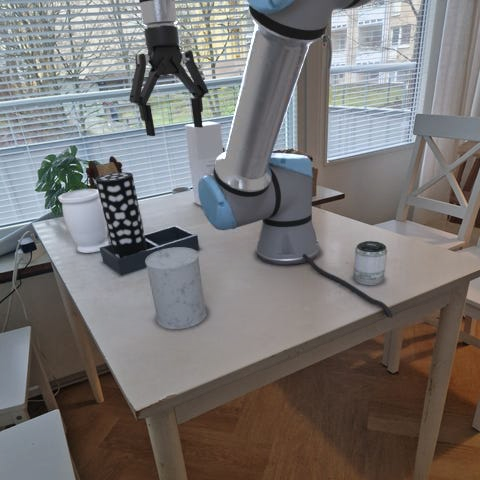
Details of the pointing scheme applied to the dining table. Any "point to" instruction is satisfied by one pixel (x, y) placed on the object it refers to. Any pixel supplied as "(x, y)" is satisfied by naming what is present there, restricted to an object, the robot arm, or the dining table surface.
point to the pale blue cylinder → (176, 287)
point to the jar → (85, 219)
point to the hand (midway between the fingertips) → (175, 131)
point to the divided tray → (150, 248)
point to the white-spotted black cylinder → (122, 213)
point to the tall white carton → (203, 151)
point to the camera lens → (370, 262)
